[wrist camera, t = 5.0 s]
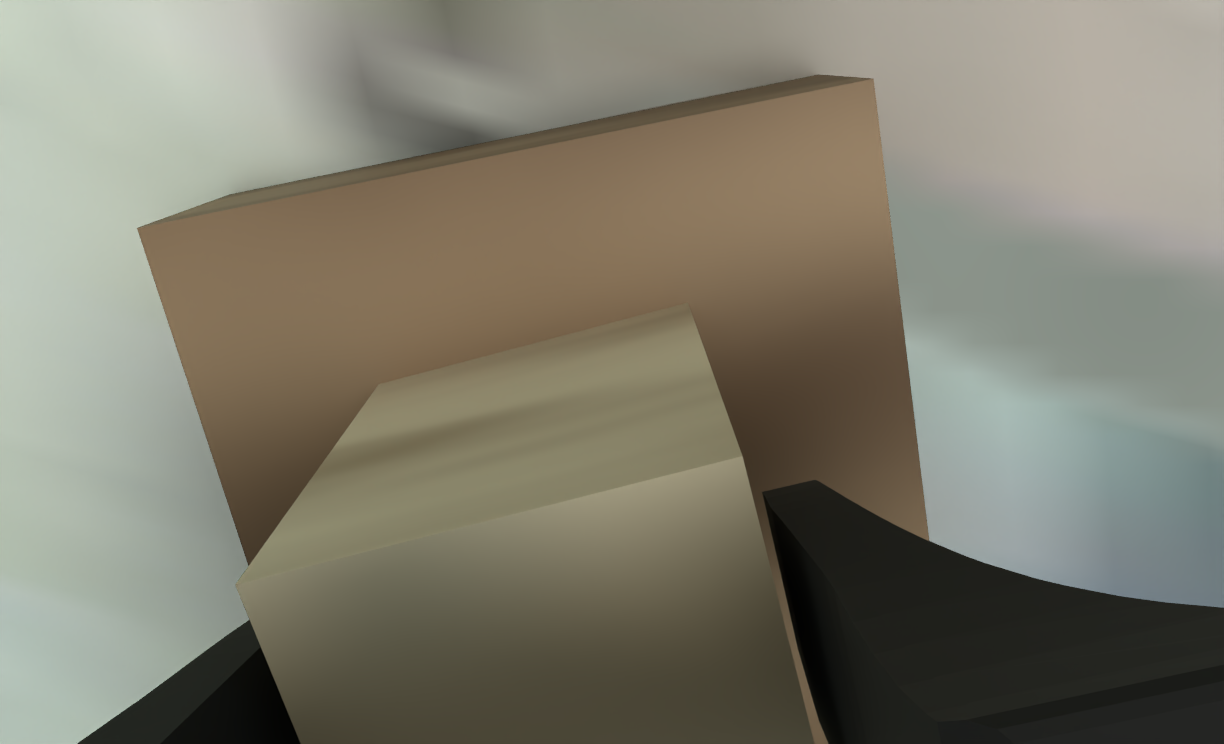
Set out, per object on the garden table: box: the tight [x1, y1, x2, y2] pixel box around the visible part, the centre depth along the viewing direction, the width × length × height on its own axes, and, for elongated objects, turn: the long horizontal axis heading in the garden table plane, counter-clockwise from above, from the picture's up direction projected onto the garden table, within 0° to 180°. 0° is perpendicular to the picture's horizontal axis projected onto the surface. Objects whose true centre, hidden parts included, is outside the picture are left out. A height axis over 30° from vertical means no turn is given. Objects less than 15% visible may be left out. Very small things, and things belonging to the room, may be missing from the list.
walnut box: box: [137, 75, 929, 744], centre depth 17 cm, size 10×10×4 cm
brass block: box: [235, 303, 815, 744], centre depth 12 cm, size 4×4×6 cm
